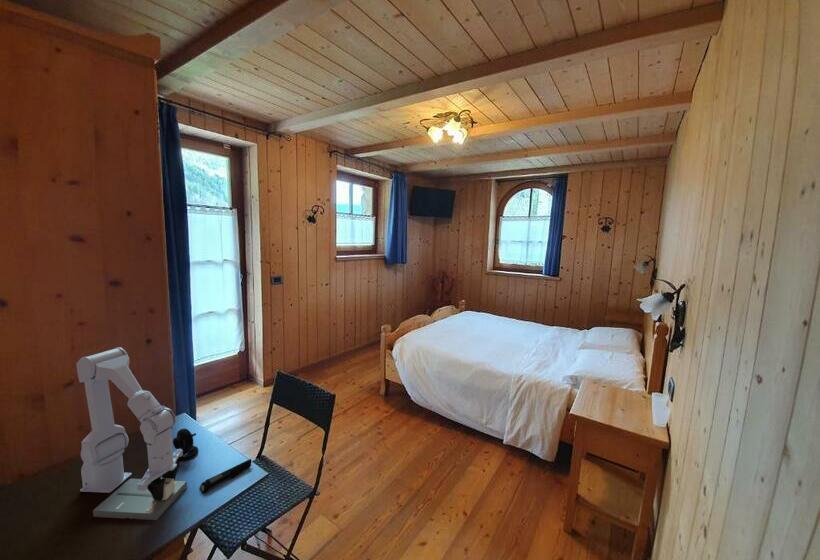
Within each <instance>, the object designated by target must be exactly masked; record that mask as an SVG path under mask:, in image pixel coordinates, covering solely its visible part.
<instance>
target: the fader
mask: <svg viewBox="0 0 820 560" xmlns="http://www.w3.org/2000/svg"><path fill="white" fill-rule="evenodd" d="M161 479H166V481H165V483H164V488H163V499H162V500H166V499H167V498H168V497H169V496H170V495H171V494H172V493H173V492H174V491H175V486H174V479H170V478H162V477H161ZM152 499H154V498H153V496H152Z"/></svg>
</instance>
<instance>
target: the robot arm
mask: <svg viewBox="0 0 820 560" xmlns="http://www.w3.org/2000/svg"><path fill="white" fill-rule="evenodd" d="M129 366H130V357H129V355H128V352H127V351H126V350H125V349H124V348H122V347H115V348H112V349H108V350H106V351H102V352H99V353H95V354H92V355H88V356H82V357H81V358H80V359H79V360H77V362H76V372H77V377H78V378H77V379H78V382H79V383H84V388H85V389H84V390H85V394H86V395H85V396H86V400H87V408H88V413H89V419H90V425H91V431H90V432H89V433H88V435H86V437H85V438H83V440H82V441H81V442H80V443H81V451H80V458H81V460H82V463H83V464H82V466H81V470H80V472H81V481H82V488H80V492H83V493H84V492H86V493H107V494H110V493H111V492H113V491H114V490H116V488H118V487H119V486H120V485H121V484H123V482H125V481H127V479H128V478H130V477H131V476H132V474H133V473H132V472H124V471H125V470H124V469H125V468H124V459H123V453H124V452H125V448H127V447H128V445H129V436H128V434H127V432H126V429H125V427H124V426H122V425H120V424H116V423H115V419H114V411H113V405H112V400H111V393H110V392H111V391H110V386H109V385H110V384H109V381H111V382H112V383H113V384H114V385H115V387H117V388H118V389H119V391H121V392H122V393H123V394H124V395H125V396H126V397H127V398H128V400H127V407H128V408H129V409H130V411H131V412H132V413H133V414H134V416H135V417H136V418H137V420H138V421H139V423H140V426H139V429H140V432H141V434H142V436H143V441H144V443H146V451H147V460H148V462H147V463H148V468H147V470H146V471H145V474H144V475H143V477H142V478H141V479H142V480H141V481H140V482H139V483H138V484H137V487H138V490H139V491H145V490H146V489H148V490H149V491H150V493H151V494H152V496H153V498H154V500H162V499H163V488H164V483H165V481H166V479H161V478H170V479H174V482H175V481H176V477H177V474H178V471H179V469H180V468H181V462H177V459H178V457H181V456H182V455H183V450H182V449H181V448H180V449H176V448H175V450H174V451H173V447H174V446H173V436H172V435H173V434H172V427H173V426H174V425H175V424H176V414H175V413H174V412H173V410H172V409H171V408H169V407H166V406H165V405H161V404H160V402H159V401H158V400H157V399H156V397H155V396H154V395H153V394H152V392H151V391H149V390H144V389H143V388H142V387H141V385H140V383H139V382H138V380H137V379H136V377H135V375H134V374H133V372H132V370H131V369H130V367H129Z"/></svg>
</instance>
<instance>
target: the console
mask: <svg viewBox="0 0 820 560" xmlns="http://www.w3.org/2000/svg"><path fill="white" fill-rule="evenodd" d="M141 480H142V478H130V477H129V479H128V480H126V482H124V483H122V485H121V486H120V487H119V488H117V489H115V491H114V492H113V493H112V494H110V495H109V496H108V497H107V498H106V499H105V500H103V501H102V502H101V503H99V505H97V506H96V507H95V508H94V509H93V510H92V514H93V517H94V518H109V519H110V518H111V519H126V518H129V519H131V520H144V521H145V520H147V521H148V520H149V521H158V519H159V518H160V517H162V515H163V514H164V513H165V512H166V511H167V509H168V508H170V506H171V505H172V504H173V503H174V502H175V501H176V500H177V499H178V498H179V496H180V495H181V494H182V493H183V492H184V491H185V490H186V489H187V487H188V483H187V482H188V481H187V480H175V482H174V486H175V491H174V492H173V493H172V494H171V495H170V496H169V497H168V498H167V499H166V500H154V499H152V494H151V493H150V491H149V490H148V489H146V490H145V491H139V490H138V487H137V484H138V483H139V482H140V481H141ZM134 518H135V519H134Z"/></svg>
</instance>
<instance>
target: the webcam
mask: <svg viewBox="0 0 820 560" xmlns="http://www.w3.org/2000/svg"><path fill="white" fill-rule="evenodd" d="M196 435H197V433H192V432H191V431H190V430H189V429H187V428H181V429H179V430H178V431H177V432H176V437H174V438H172V446H173V447H174V449H175V450H176V449H182V450H183V455H182V456H181V457H178V459H177V461H176V462H180V463H181V462H186V461H189V460H192V459H193V458H194V457H196V456H197V454H198V453H199V448H198V446H195V445H194V437H195V436H196ZM191 452H192V453H191ZM188 453H189V454H188ZM190 453H191V454H190ZM187 454H188V455H187Z"/></svg>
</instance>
